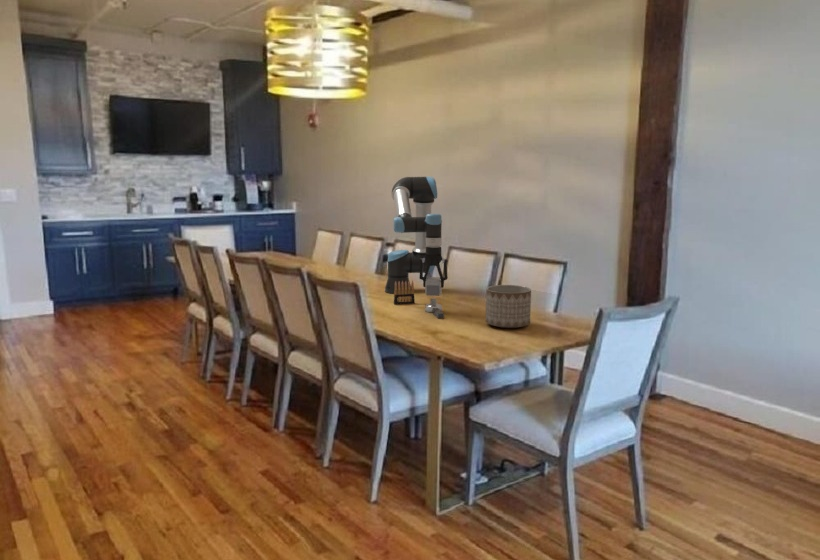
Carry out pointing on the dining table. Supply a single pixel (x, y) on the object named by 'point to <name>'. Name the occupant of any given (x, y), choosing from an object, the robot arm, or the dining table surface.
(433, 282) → the grey rectangular block
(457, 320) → the dining table surface
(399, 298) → the ammunition clip
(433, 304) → the metal ladle
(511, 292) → the planter
